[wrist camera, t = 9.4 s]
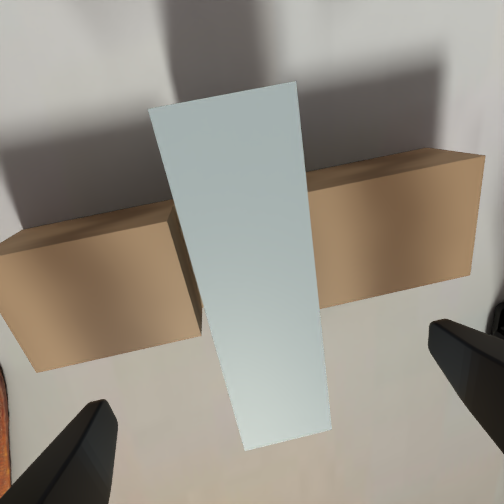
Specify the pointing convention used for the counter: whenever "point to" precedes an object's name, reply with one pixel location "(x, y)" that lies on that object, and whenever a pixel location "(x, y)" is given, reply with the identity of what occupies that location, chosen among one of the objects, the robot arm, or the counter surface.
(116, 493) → the counter surface
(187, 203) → the pale blue block
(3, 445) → the wooden tablet
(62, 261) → the notched beam
